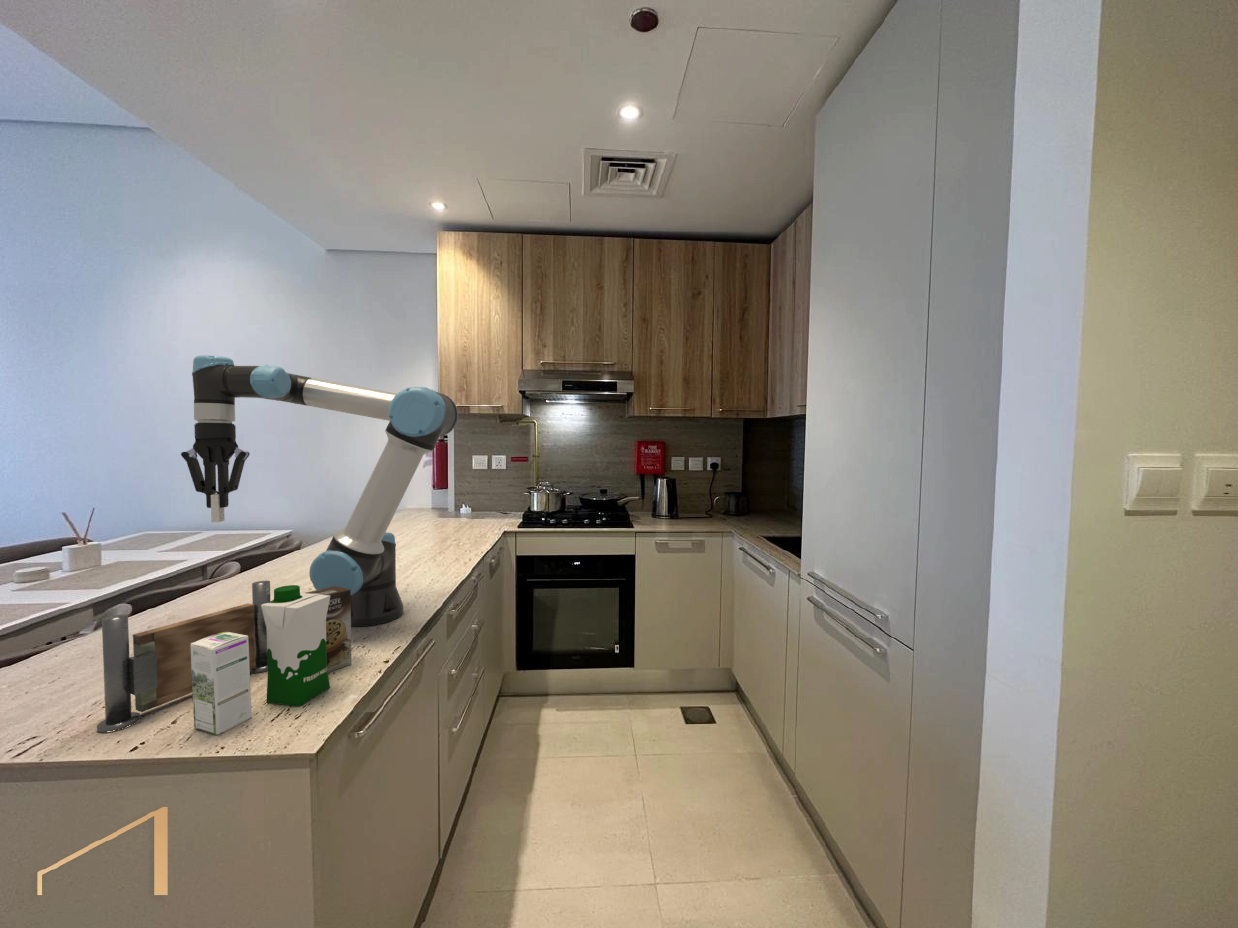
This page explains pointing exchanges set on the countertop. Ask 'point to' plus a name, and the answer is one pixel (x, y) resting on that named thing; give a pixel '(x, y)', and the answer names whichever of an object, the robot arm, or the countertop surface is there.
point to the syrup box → (220, 682)
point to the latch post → (123, 674)
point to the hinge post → (260, 624)
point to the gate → (187, 650)
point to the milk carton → (296, 645)
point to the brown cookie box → (337, 627)
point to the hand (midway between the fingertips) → (218, 521)
